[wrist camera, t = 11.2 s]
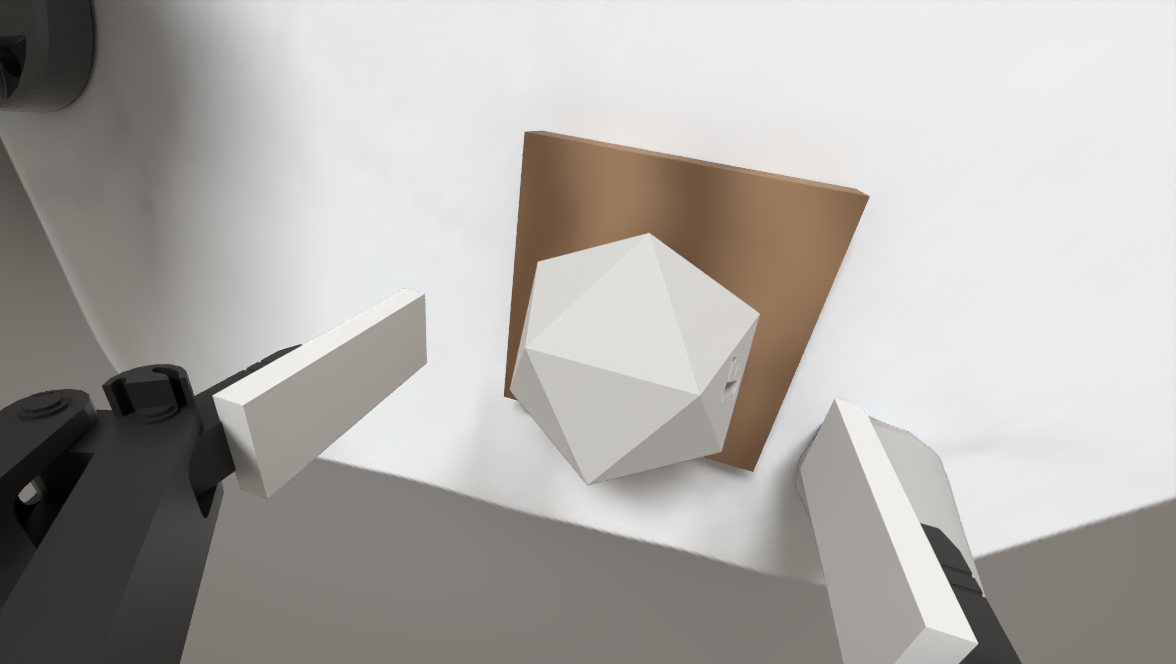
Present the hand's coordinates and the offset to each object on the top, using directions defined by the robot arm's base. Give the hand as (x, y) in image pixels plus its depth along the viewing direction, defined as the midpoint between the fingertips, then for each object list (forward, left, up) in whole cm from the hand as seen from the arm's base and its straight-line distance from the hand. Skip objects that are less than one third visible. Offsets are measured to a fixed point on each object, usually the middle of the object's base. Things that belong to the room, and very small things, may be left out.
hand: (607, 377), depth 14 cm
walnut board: (0, 0, -8) cm, 8 cm away
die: (0, 0, -6) cm, 6 cm away
